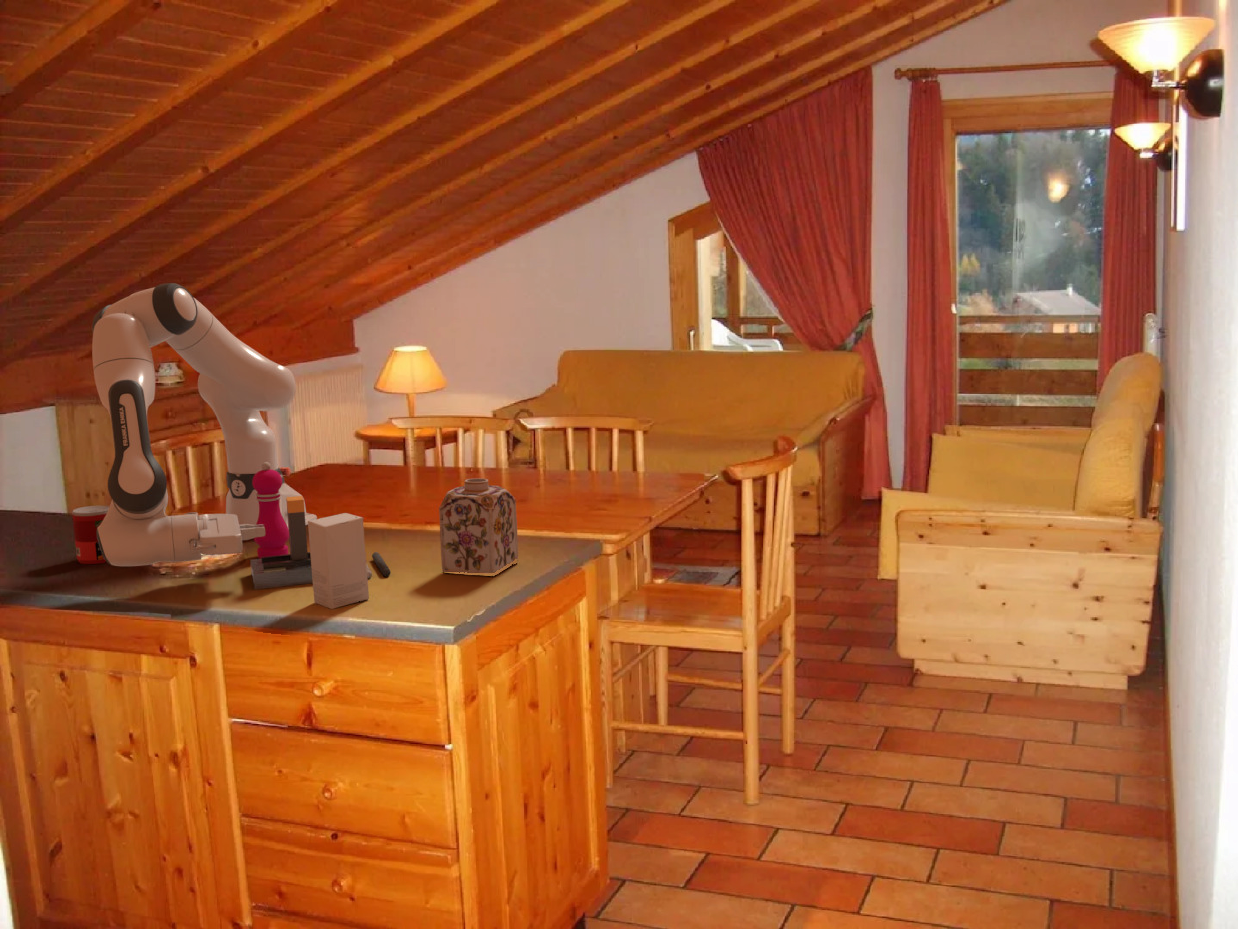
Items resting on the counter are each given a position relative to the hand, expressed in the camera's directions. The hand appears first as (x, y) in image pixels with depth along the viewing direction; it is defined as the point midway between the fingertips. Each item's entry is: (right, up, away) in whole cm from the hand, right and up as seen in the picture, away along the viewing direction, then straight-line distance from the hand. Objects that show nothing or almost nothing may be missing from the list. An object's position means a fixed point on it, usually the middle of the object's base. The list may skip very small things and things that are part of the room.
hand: (264, 530), depth 244 cm
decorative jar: (+41, -8, +6) cm, 43 cm away
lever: (+6, -6, +3) cm, 9 cm away
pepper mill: (-4, -7, +21) cm, 23 cm away
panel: (+6, -9, +4) cm, 12 cm away
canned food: (-42, -8, +22) cm, 48 cm away
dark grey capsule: (+19, -8, +8) cm, 22 cm away
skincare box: (+18, -12, -15) cm, 27 cm away
